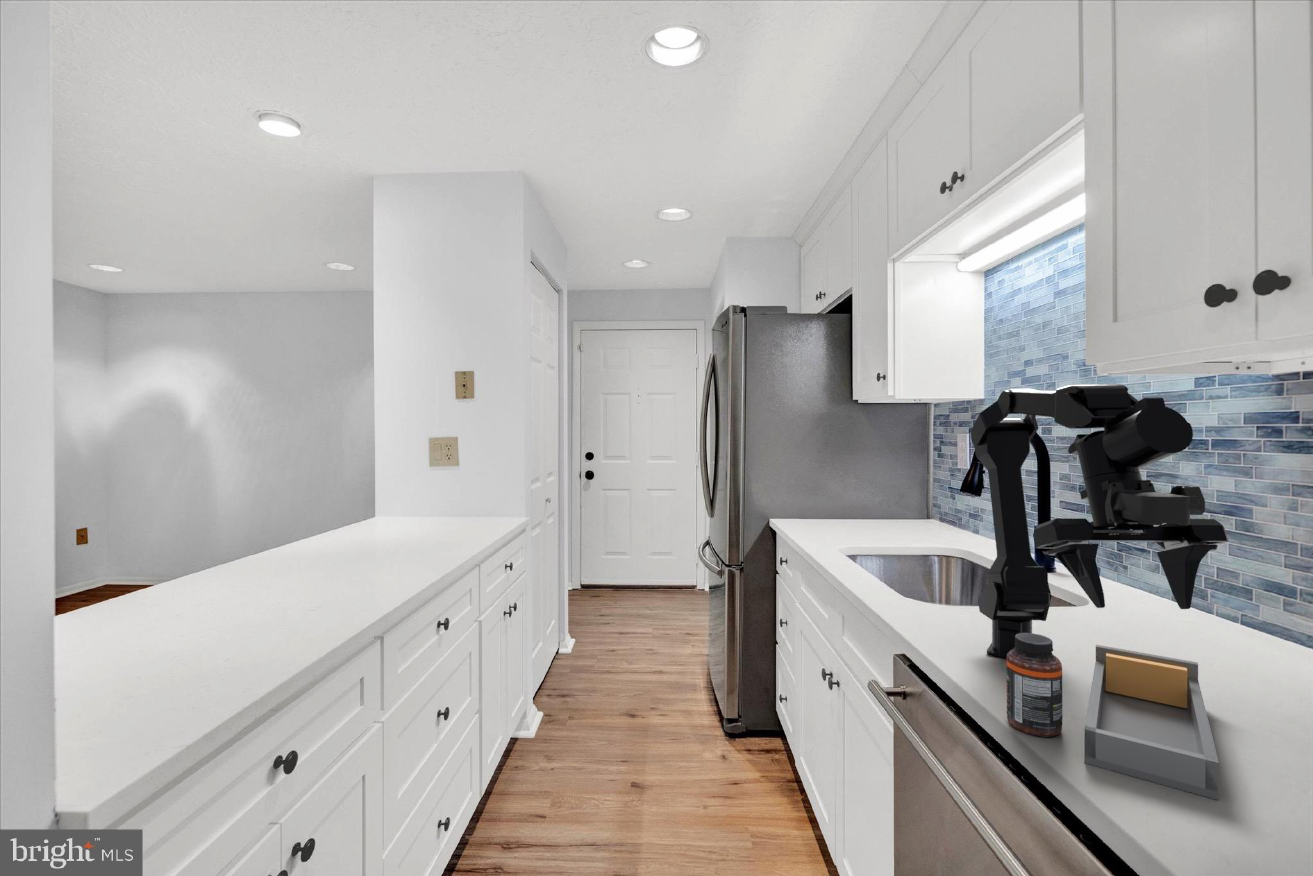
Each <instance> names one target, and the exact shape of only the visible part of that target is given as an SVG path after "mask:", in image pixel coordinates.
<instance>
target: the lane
mask: <svg viewBox="0 0 1313 876" xmlns="http://www.w3.org/2000/svg"><path fill="white" fill-rule="evenodd" d="M1106 653H1108V654H1113V655H1119V656H1124V657H1130V658H1135V659H1141V660H1146V661H1152V662H1157V663H1163V664H1168V665H1174V666H1179V667H1185V668H1187V708H1183V707H1178V706H1173V705H1169V704H1164V703H1159V702H1155V701H1150V700H1145V699H1141V698H1136V697H1131V696H1127V695H1122V694H1117V693H1113V692H1108V691H1106ZM1089 693H1090V694H1089V700H1088V706H1087V712H1086V717H1085V722H1084V723H1085V724H1084V755H1083V756H1084V762H1083V763H1084V764H1086V765H1087V764H1088V765H1092V766H1095V767H1099V768H1101V769H1104V770H1105V769H1106V770H1108V771H1112V772H1117V773H1120V774H1124V775H1127V776H1131V777H1133V778H1138V779H1141V780H1144V781H1149V782H1152V783H1156V784H1159V785H1162V786H1165V787H1166V786H1167V787H1170V788H1173V789H1176V788H1177V789H1176V790H1180V789H1181V790H1180V791H1184V790H1185V791H1184V792H1187V793H1191V792H1192V794H1194V795H1198V794H1199V795H1198V796H1201V795H1203V796H1202V797H1205V796H1206V797H1205V798H1209V797H1210V798H1209V799H1213V800H1217V801H1219V800H1220V799H1219V798H1220V761H1219V757H1218V753H1217V749H1216V746H1215V742H1214V741H1215V740H1214V737H1213V734H1212V729H1211V726H1210V722H1209V718H1208V713H1207V710H1206V705H1205V702H1204V698H1203V694H1202V690H1201V686H1200V682H1199V662H1197V661H1192V660H1191V661H1190V660H1187V659H1182V658H1181V659H1180V658H1174V657H1168V656H1164V655H1163V656H1162V655H1157V654H1153V653H1152V654H1151V653H1146V652H1141V651H1135V650H1129V649H1124V648H1118V647H1112V646H1107V645H1102V644H1101V645H1100V644H1095V662H1094V668H1093V674H1092V682H1091V687H1090V692H1089Z"/></svg>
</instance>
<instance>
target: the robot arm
mask: <svg viewBox="0 0 1313 876" xmlns="http://www.w3.org/2000/svg"><path fill="white" fill-rule="evenodd" d="M1128 391H1129V388H1128V387H1127V386H1126V385H1124V384H1121V383H1119V384H1118V383H1117V384H1116V383H1115V384H1114V383H1112V384H1111V383H1110V384H1107V383H1105V384H1104V383H1103V384H1101V383H1100V384H1099V383H1098V384H1070V385H1065V386H1061V387H1058V388H1056V389H1055V390H1037V389H1035V388H1009V389H1007V390H1002V391H1001V393H1000V394H999V396H998V398H997V399H996V401H995V402H993V403H992V404H991V405H989V406H988V407H986V408H985V409H983V410H981V412H980V413H979V414H978V415H977V418H976V420H975V422H974V423H973V426H972V428H971V430H970V441H971V443H972V444H973V447H974V452H975V453H974V454H975V456H976V458H977V459H978V461H980V463H981V464H982V466H983V467H984V468H985V470H987V474H988V482H989V491H990V502H991V503H990V504H991V510H992V519H993V521H992V522H993V530H994V539H995V548H996V558H995V559H994V562H993V563H992V565H991V567H990V568H989V570H988V572H987V581H988V582H987V584H986V586H985V588H984V590H982V592H981V594H980V596H979V597H978V598H977V604H978V610H979V612H980V613H981V614H982V615H984V616H986V617H987V618H989V620H991V622H992V623H991V625H992V626H991V627H992V628H991V630H992V633H991V643H990V645H989V646H988V648H987V649H986V654H987V655H989V654H990V656H995V657H1000V658H1006V657H1007V654H1008V652H1009V651H1010V650H1012V649H1014V648H1015V636H1016V634H1019V633H1033V621H1042V622H1046V621H1047V618H1048V613H1049V609H1050V606H1051V601H1052V598H1053V596H1052V593H1051V588H1050V585H1049V576H1048V575H1049V573H1048V572H1049V571H1048V570H1047V568H1046V567H1045V566H1040V565H1039V564H1038V562H1037V561H1036V560H1035V559H1034V558H1033V557H1032V551H1031V544H1030V543H1031V542H1030V534H1029V525H1028V519H1027V518H1028V517H1027V510H1026V509H1027V508H1026V499H1025V493H1024V491H1025V490H1024V485H1023V484H1024V482H1023V476H1022V466H1023V465H1024V463H1025V461H1026V459H1028V456H1029V455H1030V452H1031V440H1033V437H1034V436H1035V435H1036V433H1037V432H1038V430H1039V424H1038V422H1037V418H1036V417H1038V416H1040V417H1046V418H1047V417H1049V418H1052V419H1054V420H1053V421H1054V423H1056V424H1058V425H1059V426H1063V427H1065V428H1066V429H1069V430H1070V429H1071V430H1073V429H1074V430H1075V429H1076V430H1077V429H1083V430H1084V429H1101V430H1095V431H1093V432H1091V433H1089V434H1088V433H1087V434H1086V433H1081V434H1080V433H1078V434H1077V435H1076V436H1075V439H1074V440H1073V442H1072V443H1070V445H1069V447H1068V449H1067V453H1068V454H1070V455H1078V460H1079V465H1080V469H1081V473H1082V479H1083V483H1084V488H1085V489H1083V490H1082V491H1081V490H1080V491H1079V494H1080V499H1081V500H1087V501H1088V504H1089V509H1090V513H1091V518H1092V521H1089V520H1088V519H1087V518H1073V517H1072V518H1070V517H1069V518H1054V519H1050V520H1048V521H1045V522H1043V523H1040V524H1037V525H1036V527H1035V528H1034V530H1033V533H1032V536H1033V537H1032V538H1033V541H1034V547H1035V548H1036V549H1049V550H1046V553H1047V555H1048V556H1054V557H1055V558H1056V559H1057V560H1058V561H1059V562H1060V563H1061V564H1062V565H1063V567H1064V568H1066V570H1067V571H1068V572H1069V573H1070V575H1071V576H1072V577H1073V578H1074V579H1075V580H1076V582H1077V583H1078V585H1079V586H1080V588H1081V589H1082V590H1083V591H1084V593H1085V595H1087V597H1088V598H1089V600H1090V601H1091V603H1092V604H1093V605H1094V607H1096V609H1104V608H1105V607H1106V603H1105V601H1106V599H1105V594H1104V589H1103V585H1102V581H1101V577H1100V573H1099V569H1098V564H1097V560H1096V559H1097V555H1098V554H1097V553H1098V549H1099V543H1096V542H1102V543H1103V542H1105V543H1106V542H1111V543H1112V542H1113V543H1114V542H1115V543H1117V542H1119V543H1121V542H1123V543H1124V542H1125V543H1127V542H1128V543H1133V542H1134V543H1156V544H1157V545H1158V546H1159V547H1161V548H1163V549H1164V550H1161V551H1157V552H1156V554H1157V557H1158V560H1159V562H1160V564H1161V567H1162V569H1163V572H1164V575H1165V578H1166V580H1167V582H1168V586H1169V588H1170V590H1171V593H1172V595H1173V597H1174V600H1175V602H1176V604H1177V606H1178V608H1179V609H1180V610H1189V609H1190V608H1191V607H1192V606H1191V605H1192V600H1193V595H1194V589H1195V584H1196V578H1197V574H1198V573H1197V572H1198V570H1199V567H1200V564H1201V562H1202V560H1203V559H1204V557H1205V556H1206V555H1207V554H1208V553H1209V552H1213V551H1217V550H1218V546H1219V545H1220V544H1225V543H1229V538H1228V535H1227V531H1226V529H1225V527H1224V525H1223V524H1222V523H1220V522H1219V521H1218V520H1217V519H1215V518H1191V516H1202V515H1204V513H1206V500H1205V497H1204V494H1203V492H1202V489H1201V487H1200V486H1198V485H1197V486H1196V485H1173V486H1172V488H1171V491H1170V492H1159V491H1156V488H1155V487H1154V483H1152V481H1151V480H1150V479H1148V480H1147V479H1142V474H1141V470H1140V468H1143V467H1147V466H1150V465H1152V464H1154V463H1156V462H1159V461H1162V460H1163V459H1166V458H1169V457H1171V456H1173V455H1176V454H1178V453H1180V452H1182V451H1185V450H1186V449H1187V448H1188V447H1189V446H1190V445H1191V444H1192V441H1193V438H1194V432H1193V427H1192V424H1191V423H1190V422H1188V421H1187V419H1186V418H1185V416H1183V415H1182V414H1181V413H1179V412H1178V411H1177V410H1176V409H1173V408H1170V407H1168V406H1166V403H1165V400H1164V398H1163V397H1162V396H1161V397H1156V396H1155V397H1143V398H1141V399H1140V400H1139V399H1137V398H1135V396H1133V395H1132V394H1131V393H1129V392H1128ZM1009 414H1010V415H1025V417H1024V418H1023V419H1021V418H1020V417H1019V418H1017V417H1016V418H1013V417H1011V418H1007V417H1008V415H1009ZM1091 542H1095V543H1091ZM1006 659H1007V658H1006Z"/></svg>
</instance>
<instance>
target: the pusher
mask: <svg viewBox="0 0 1313 876" xmlns="http://www.w3.org/2000/svg"><path fill="white" fill-rule="evenodd" d="M1106 691H1108V692H1113V693H1117V694H1122V695H1127V696H1131V697H1136V698H1141V699H1145V700H1150V701H1155V702H1159V703H1164V704H1169V705H1173V706H1178V707H1183V708H1187V668H1185V667H1179V666H1174V665H1168V664H1163V663H1157V662H1152V661H1146V660H1141V659H1135V658H1130V657H1124V656H1119V655H1113V654H1108V653H1106Z"/></svg>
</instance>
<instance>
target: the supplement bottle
mask: <svg viewBox="0 0 1313 876" xmlns="http://www.w3.org/2000/svg"><path fill="white" fill-rule="evenodd" d="M1053 644H1054V643H1053V640H1052V639H1051V637H1047V636H1045V635H1042V634H1037V633H1033V632H1032V633H1019V634H1016V636H1015V648H1014V649H1012V650H1010V651H1009V652H1008V654H1007V657H1006V719H1007V721H1008V722H1009V724H1010V725H1011V726H1012V727H1014V728H1015V729H1017V730H1018V731H1020V732H1023V733H1025V734H1028V735H1031V736H1036V737H1043V738H1047V737H1048V738H1049V737H1056V736H1058V735H1060V734H1061V733H1062V731H1063V666H1062V662H1061V660H1060V659H1059V658H1058V657H1057V656H1056V655H1054V654H1053V651H1054V645H1053Z"/></svg>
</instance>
